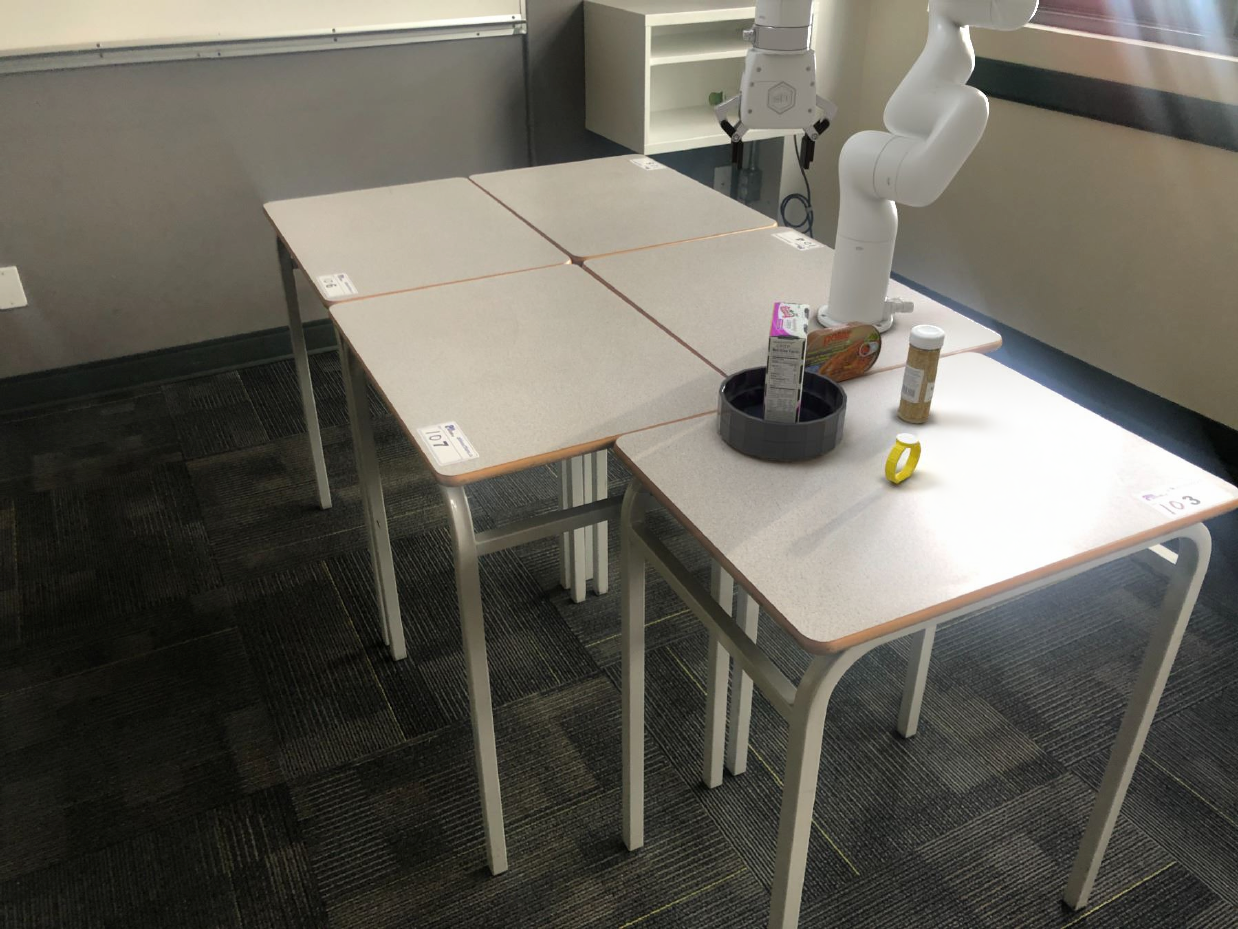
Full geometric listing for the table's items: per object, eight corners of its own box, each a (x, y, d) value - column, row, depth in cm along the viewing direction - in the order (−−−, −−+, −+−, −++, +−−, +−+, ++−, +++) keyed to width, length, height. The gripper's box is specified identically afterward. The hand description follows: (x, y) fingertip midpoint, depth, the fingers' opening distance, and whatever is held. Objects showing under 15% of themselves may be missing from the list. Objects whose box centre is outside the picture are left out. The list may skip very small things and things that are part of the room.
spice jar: (934, 422, 140) (952, 335, 133) (905, 426, 140) (920, 338, 132) (919, 407, 144) (935, 321, 137) (890, 410, 143) (905, 324, 136)
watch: (895, 491, 125) (902, 451, 122) (877, 482, 127) (883, 442, 124) (921, 474, 129) (929, 434, 126) (903, 466, 130) (910, 426, 127)
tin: (800, 392, 148) (806, 340, 144) (788, 383, 151) (793, 332, 146) (879, 371, 154) (887, 321, 150) (866, 363, 157) (873, 314, 152)
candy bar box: (764, 407, 143) (773, 300, 134) (799, 410, 142) (811, 303, 133) (758, 446, 133) (768, 333, 125) (795, 449, 133) (808, 337, 124)
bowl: (824, 400, 146) (829, 364, 143) (856, 461, 131) (862, 422, 128) (708, 404, 145) (710, 367, 142) (728, 466, 130) (730, 426, 127)
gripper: (722, 43, 129) (714, 175, 138) (852, 42, 130) (837, 173, 139) (713, 34, 135) (706, 161, 144) (837, 33, 136) (823, 159, 145)
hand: (770, 167), depth 142 cm, fingers open, 9 cm apart
